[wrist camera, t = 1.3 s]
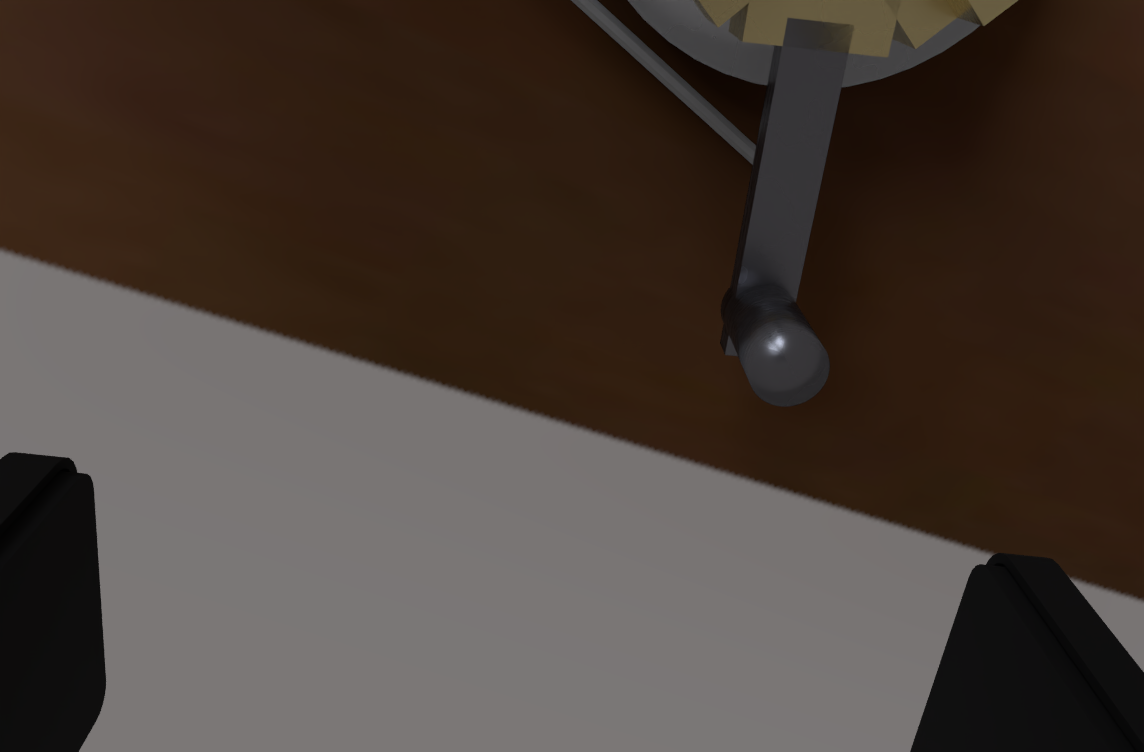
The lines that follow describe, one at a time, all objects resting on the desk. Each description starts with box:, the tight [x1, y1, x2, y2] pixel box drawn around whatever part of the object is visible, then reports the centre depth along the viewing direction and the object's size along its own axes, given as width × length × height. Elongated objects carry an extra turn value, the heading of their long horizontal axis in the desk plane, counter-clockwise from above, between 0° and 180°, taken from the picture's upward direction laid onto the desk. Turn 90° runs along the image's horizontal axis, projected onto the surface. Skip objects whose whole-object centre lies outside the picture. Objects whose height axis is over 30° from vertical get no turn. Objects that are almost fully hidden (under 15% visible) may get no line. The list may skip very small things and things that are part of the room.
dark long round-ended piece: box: [693, 0, 1018, 406], centre depth 29 cm, size 23×13×6 cm, turn 174°
